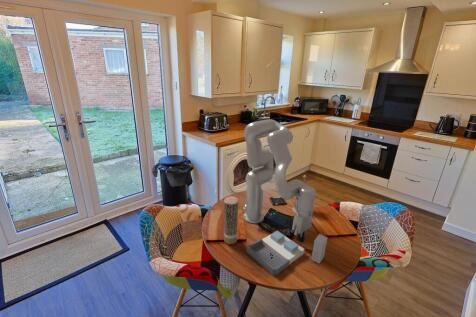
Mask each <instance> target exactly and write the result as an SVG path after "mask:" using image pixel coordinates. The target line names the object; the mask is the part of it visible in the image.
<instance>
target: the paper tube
mask: <svg viewBox="0 0 476 317" xmlns="http://www.w3.org/2000/svg"><path fill="white" fill-rule="evenodd" d="M223 200H224V202H223V203H224V204H223V205H224V207H223V208H224V209H223V210H224V211H223V213H224V214H223V218H224V220H223V222H224V223H223V232H224V233H223V241H224V243H226V245H234V244H236V243H237V242H238V218H239V217H238V215H239V214H238V213H239V198H238V197H236V196H232V195H231V196H227V197H225V198H224V199H223Z"/></svg>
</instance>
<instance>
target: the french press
mask: <svg viewBox="0 0 476 317" xmlns="http://www.w3.org/2000/svg"><path fill="white" fill-rule="evenodd" d="M302 177H303V178H304V180H303V182H305V181H306V180H305V179H306V178H307V175H305V174H304V175H303V176H302ZM290 200H291V203H293V207H292V211H293V212H294V213H295V214H296V213H297V212H296V211H297V204H298V196H295V200H294V201H293V198H292V199H290Z"/></svg>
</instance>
